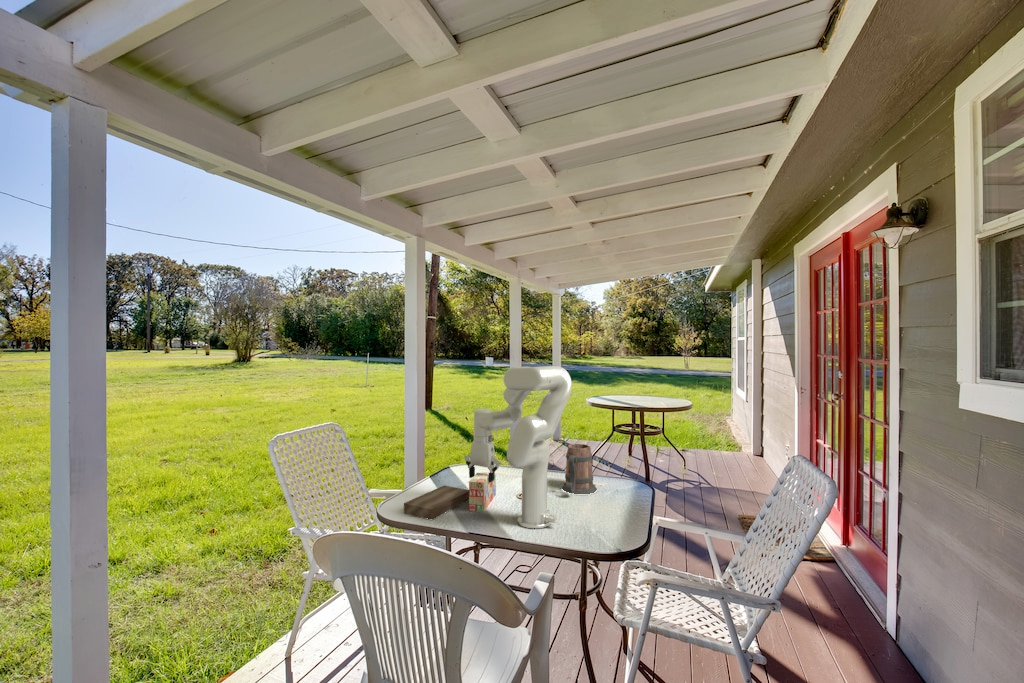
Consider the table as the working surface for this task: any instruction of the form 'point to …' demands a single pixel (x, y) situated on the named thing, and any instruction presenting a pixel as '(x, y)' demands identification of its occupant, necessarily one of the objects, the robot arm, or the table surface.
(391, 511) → the table surface
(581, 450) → the tankard
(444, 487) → the plinth
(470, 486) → the stack of blocks
